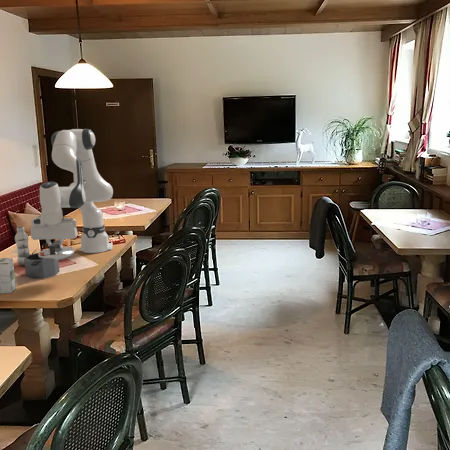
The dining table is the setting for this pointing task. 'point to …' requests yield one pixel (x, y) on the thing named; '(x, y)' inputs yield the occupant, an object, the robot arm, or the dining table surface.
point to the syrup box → (7, 276)
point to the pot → (40, 267)
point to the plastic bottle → (22, 245)
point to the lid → (56, 252)
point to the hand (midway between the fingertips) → (55, 248)
